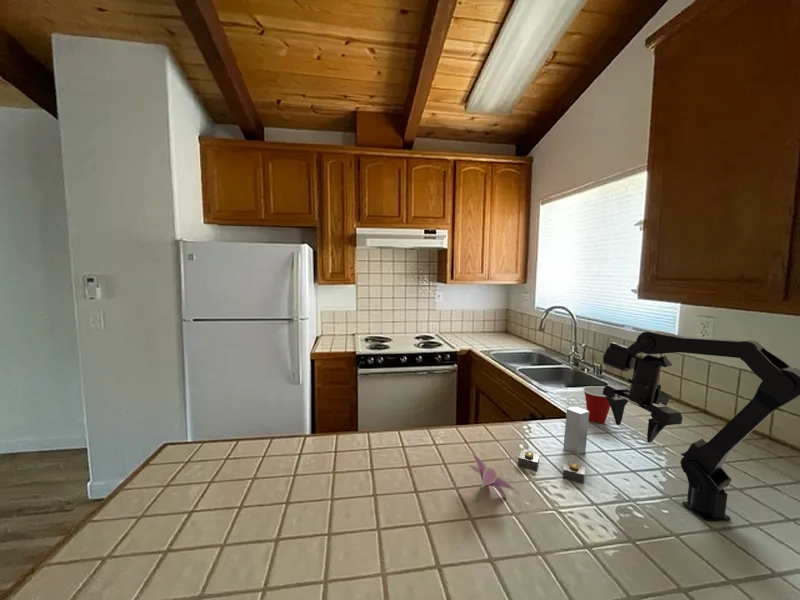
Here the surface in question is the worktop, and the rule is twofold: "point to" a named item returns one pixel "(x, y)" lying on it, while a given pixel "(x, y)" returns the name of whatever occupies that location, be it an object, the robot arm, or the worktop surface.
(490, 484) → the lily
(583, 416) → the tall metal block
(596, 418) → the plastic cup
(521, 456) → the chain ends
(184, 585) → the worktop surface
